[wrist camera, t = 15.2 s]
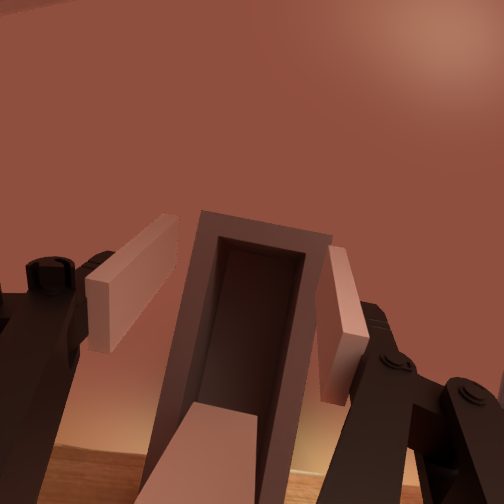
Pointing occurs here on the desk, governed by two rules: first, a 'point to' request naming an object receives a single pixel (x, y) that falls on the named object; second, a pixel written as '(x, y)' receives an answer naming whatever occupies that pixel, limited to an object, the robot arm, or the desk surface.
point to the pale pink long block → (206, 460)
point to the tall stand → (244, 337)
